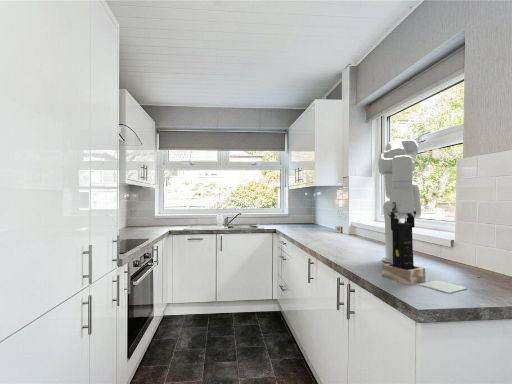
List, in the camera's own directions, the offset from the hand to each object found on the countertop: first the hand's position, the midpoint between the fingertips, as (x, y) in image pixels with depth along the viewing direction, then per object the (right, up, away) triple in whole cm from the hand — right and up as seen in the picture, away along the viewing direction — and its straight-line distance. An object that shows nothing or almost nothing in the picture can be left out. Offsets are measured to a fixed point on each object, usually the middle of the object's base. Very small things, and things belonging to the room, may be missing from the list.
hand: (402, 227), depth 120 cm
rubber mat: (+9, -21, -11) cm, 25 cm away
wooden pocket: (0, -21, 0) cm, 21 cm away
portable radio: (0, -21, 0) cm, 21 cm away
